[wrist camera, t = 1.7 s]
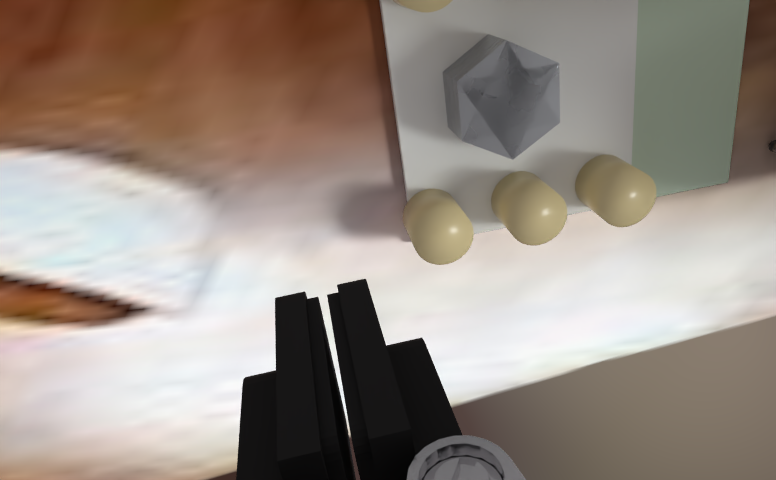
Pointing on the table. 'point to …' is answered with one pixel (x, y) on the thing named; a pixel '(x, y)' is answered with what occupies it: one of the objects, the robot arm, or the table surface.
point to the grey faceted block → (502, 96)
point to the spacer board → (566, 113)
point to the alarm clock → (772, 145)
